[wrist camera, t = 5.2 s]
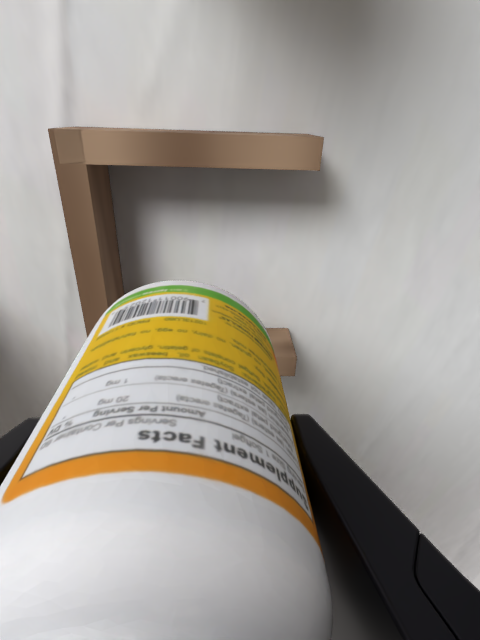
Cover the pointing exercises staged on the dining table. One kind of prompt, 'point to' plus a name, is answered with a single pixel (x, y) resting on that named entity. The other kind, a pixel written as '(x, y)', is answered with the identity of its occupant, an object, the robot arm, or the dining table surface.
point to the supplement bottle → (164, 487)
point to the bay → (153, 150)
